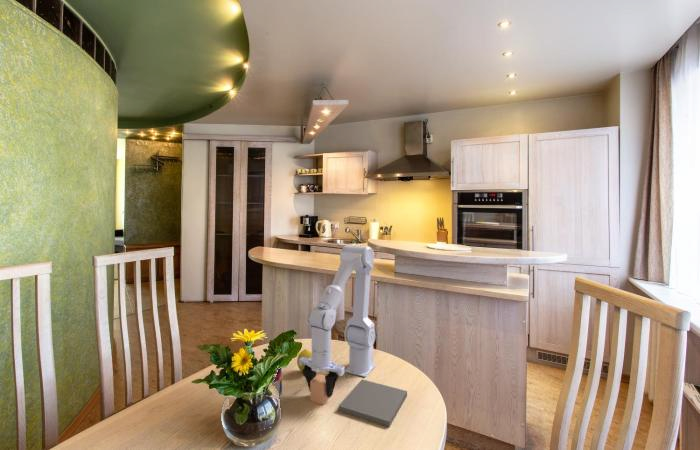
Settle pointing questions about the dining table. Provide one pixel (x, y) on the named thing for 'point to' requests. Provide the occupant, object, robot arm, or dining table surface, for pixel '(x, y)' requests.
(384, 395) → the shelf board
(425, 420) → the dining table surface
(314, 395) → the terracotta block
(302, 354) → the lemon
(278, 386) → the energy drink
